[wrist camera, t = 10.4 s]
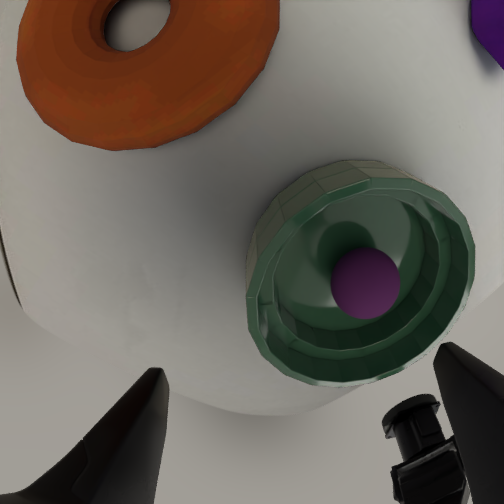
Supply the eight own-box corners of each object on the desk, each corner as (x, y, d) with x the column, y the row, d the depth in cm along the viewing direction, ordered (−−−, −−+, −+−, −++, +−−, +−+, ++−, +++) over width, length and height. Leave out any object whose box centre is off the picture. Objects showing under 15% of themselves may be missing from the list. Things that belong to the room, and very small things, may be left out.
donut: (104, 187, 18) (66, 214, 14) (22, 21, 12) (-23, 14, 8) (320, 75, 16) (346, 66, 11) (210, -95, 10) (201, -135, 5)
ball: (378, 290, 21) (403, 327, 17) (320, 296, 21) (338, 338, 17) (386, 233, 19) (419, 265, 16) (324, 237, 19) (347, 273, 15)
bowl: (416, 329, 24) (439, 369, 20) (252, 346, 24) (253, 395, 20) (450, 163, 18) (495, 184, 13) (240, 160, 18) (237, 180, 13)
